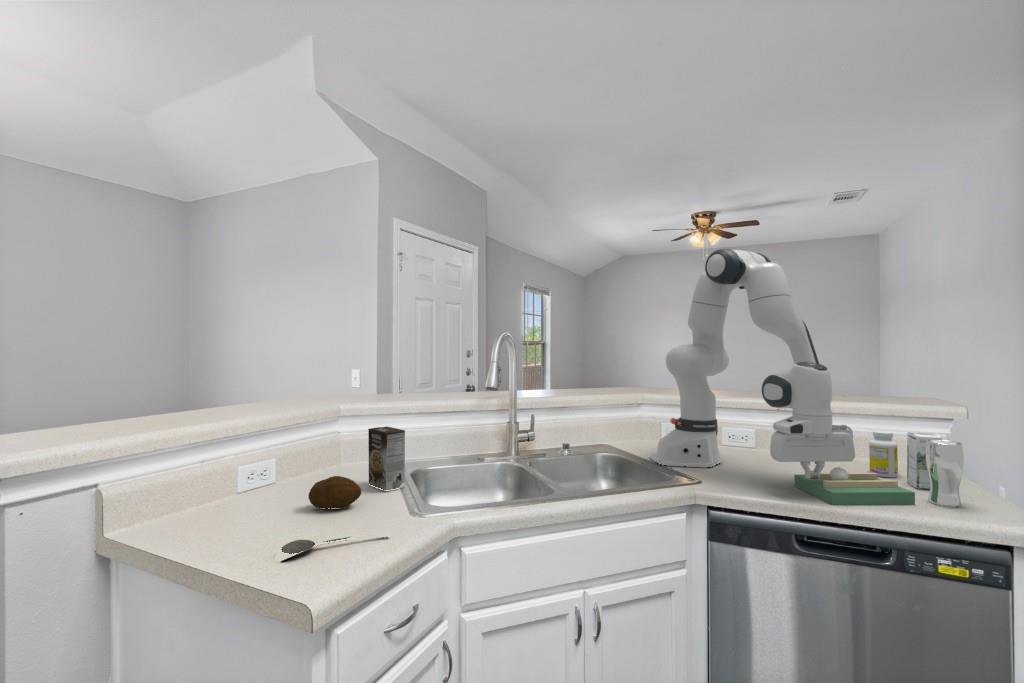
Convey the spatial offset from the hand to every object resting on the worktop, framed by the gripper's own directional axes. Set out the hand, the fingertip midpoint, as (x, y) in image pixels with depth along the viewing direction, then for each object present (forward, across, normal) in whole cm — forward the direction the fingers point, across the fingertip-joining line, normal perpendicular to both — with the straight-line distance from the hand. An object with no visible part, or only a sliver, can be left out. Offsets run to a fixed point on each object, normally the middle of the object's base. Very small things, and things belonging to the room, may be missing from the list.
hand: (812, 478), depth 126 cm
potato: (+4, +121, +9) cm, 121 cm away
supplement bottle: (+4, -32, -18) cm, 37 cm away
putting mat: (+4, -10, 0) cm, 11 cm away
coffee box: (+4, +113, -8) cm, 113 cm away
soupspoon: (+5, +113, +31) cm, 117 cm away
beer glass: (+4, -28, +7) cm, 29 cm away
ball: (-1, -7, 0) cm, 7 cm away
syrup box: (+4, -34, -6) cm, 35 cm away
